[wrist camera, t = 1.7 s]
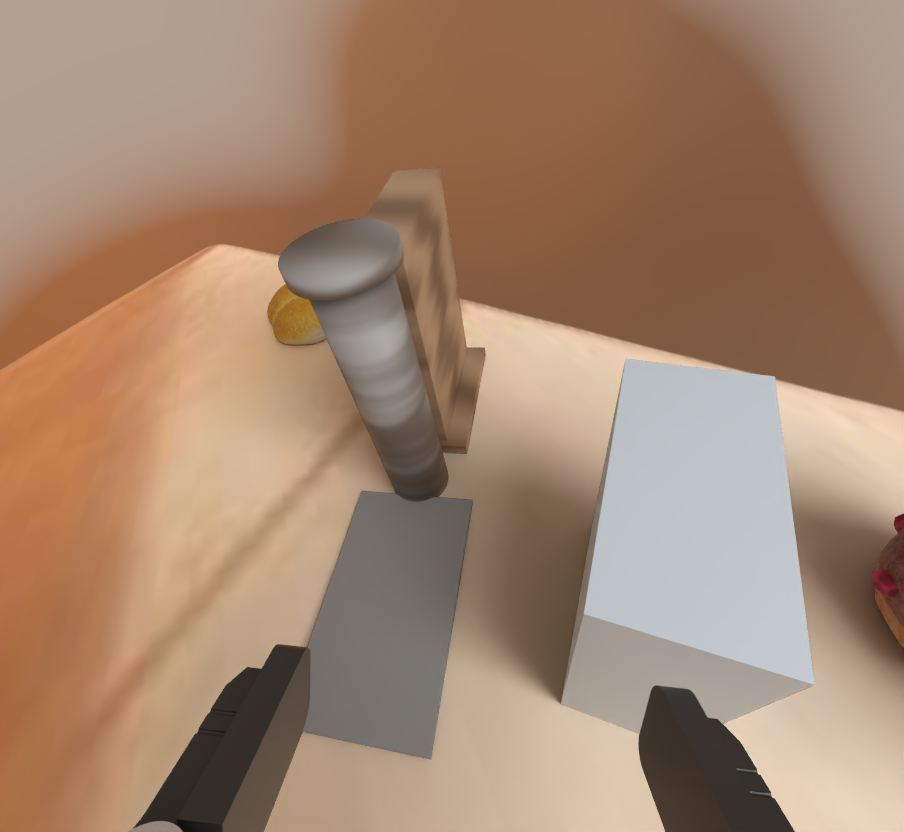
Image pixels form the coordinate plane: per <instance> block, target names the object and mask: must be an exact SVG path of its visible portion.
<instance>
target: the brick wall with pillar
mask: <svg viewBox="0 0 904 832" xmlns="http://www.w3.org/2000/svg"><path fill="white" fill-rule="evenodd" d="M278 267H279V270H280V272H281V274H282V277H283V279H284V281H285V283H286V285H287V287H288V289H289V290H290V291H291V292H292V293H293V294H295V295H297V296H299V297H301V298H304V299H309V301H310V303H311V305H312V307H313V309H314V312H315V314H316V316H317V318H318V321H319V323H320V325H321V327H322V329H323V332H324V334H325V336H326V338H327V341H328V343H329V345H330V347H331V349H332V352H333V354H334V356H335V358H336V361H337V363H338V365H339V367H340V369H341V372H342V374H343V376H344V378H345V381H346V383H347V385H348V387H349V389H350V392H351V394H352V396H353V398H354V401H355V403H356V405H357V407H358V409H359V412H360V414H361V416H362V418H363V421H364V423H365V425H366V427H367V429H368V432H369V434H370V436H371V438H372V441H373V443H374V445H375V447H376V449H377V452H378V454H379V456H380V458H381V461H382V463H383V465H384V467H385V469H386V472H387V474H388V476H389V478H390V481H391V483H392V485H393V487H394V489H395V492H396V493H397V494H398V495H399V496H400V497H402V498H403V499H405V500H408V501H413V502H420V501H425V500H428V499H430V498H432V497H438V496H439V495H440V494H441V493H442V492H443V491H444V489H445V488H446V486H447V483H448V471H447V467H446V464H445V460H444V456H443V452H448V453H465V454H467V451H468V446H469V440H470V435H471V430H472V424H473V419H474V413H475V408H476V403H477V397H478V392H479V387H480V381H481V376H482V371H483V365H484V360H485V348H467V347H466V340H465V333H464V327H463V320H462V314H461V307H460V300H459V294H458V287H457V281H456V274H455V267H454V261H453V254H452V248H451V241H450V234H449V228H448V221H447V215H446V208H445V202H444V195H443V188H442V182H441V176H440V169H439V167H436V168H425V169H413V170H402V171H394V172H393V174H392V175H391V177H390V179H389V181H388V182H387V184H386V185H385V187H384V188H383V190H382V191H381V193H380V195H379V196H378V198H377V199H376V201H375V203H374V204H373V206H372V207H371V209H370V210H369V212H368V214H367V215H366V217H365V218H364V219H363V218H362V219H350V220H343V221H339V222H335V223H331V224H327V225H325V226H322V227H319V228H317V229H314V230H312V231H310V232H308V233H306V234H304V235H303V236H301V237H299V238H297V239H296V240H295V241H293V242H292V243H291V244H290V245H289V246H288V247H287V248H286V249H285V250H284V251H283V252H282V254H281V256H280V258H279V261H278Z"/></svg>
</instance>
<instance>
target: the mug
mask: <svg viewBox="0 0 904 832" xmlns="http://www.w3.org/2000/svg"><path fill="white" fill-rule="evenodd" d="M894 526H895V529H896V531H897V532H898V534H897V535H896V536H895V537H894V538H893V539H892V540H891V541H890V542H889V543H888V545H887V546H886V547H885V549H884V550H883V551H882V552H881V556H880V560H879V565H878V567H877V569H876V570H875V571H874V572H873V584H874V590H875V601H876V603H877V605H878V607H879V609H880V611H881V613H882V615H883V616H884V619H885V620H886V622H887V624H888V626H889V627H890V629H891V631H892V632H893V634H894V636H895V637H896V639H897V641H898V642H899V644H900V645H901V646H902V647H903V648H904V514H902V515H899V516H897V517H895V521H894Z"/></svg>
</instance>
